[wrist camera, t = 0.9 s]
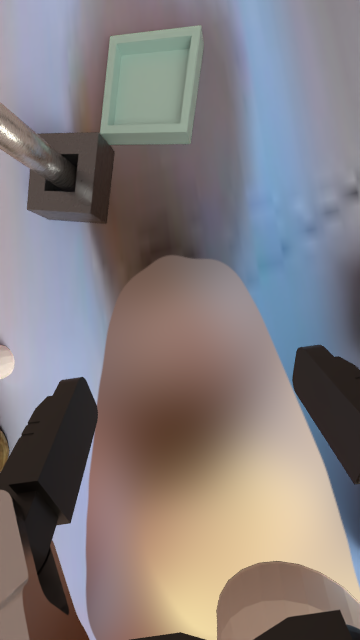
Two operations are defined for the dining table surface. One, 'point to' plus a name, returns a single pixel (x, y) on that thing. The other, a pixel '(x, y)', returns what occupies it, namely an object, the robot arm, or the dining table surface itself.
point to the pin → (35, 151)
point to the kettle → (278, 599)
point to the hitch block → (90, 181)
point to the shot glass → (6, 362)
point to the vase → (3, 450)
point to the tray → (152, 87)
